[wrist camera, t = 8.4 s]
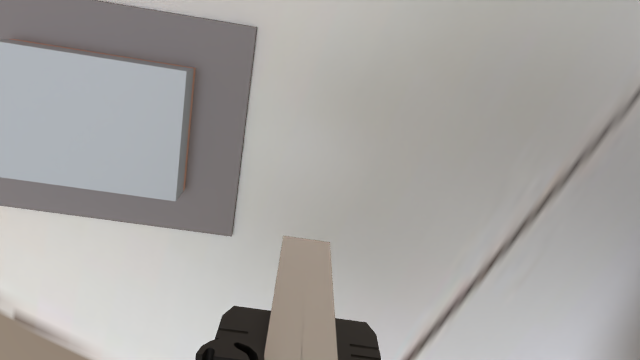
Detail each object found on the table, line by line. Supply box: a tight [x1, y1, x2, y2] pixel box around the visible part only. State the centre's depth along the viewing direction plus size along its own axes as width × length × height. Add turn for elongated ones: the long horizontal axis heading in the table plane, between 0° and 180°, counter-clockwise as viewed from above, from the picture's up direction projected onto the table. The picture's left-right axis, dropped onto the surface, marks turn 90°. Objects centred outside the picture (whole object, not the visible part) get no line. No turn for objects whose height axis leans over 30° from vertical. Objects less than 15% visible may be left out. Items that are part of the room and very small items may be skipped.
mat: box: [0, 0, 257, 236], centre depth 32 cm, size 22×14×1 cm, turn 81°
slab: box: [0, 39, 196, 201], centre depth 31 cm, size 3×8×11 cm
